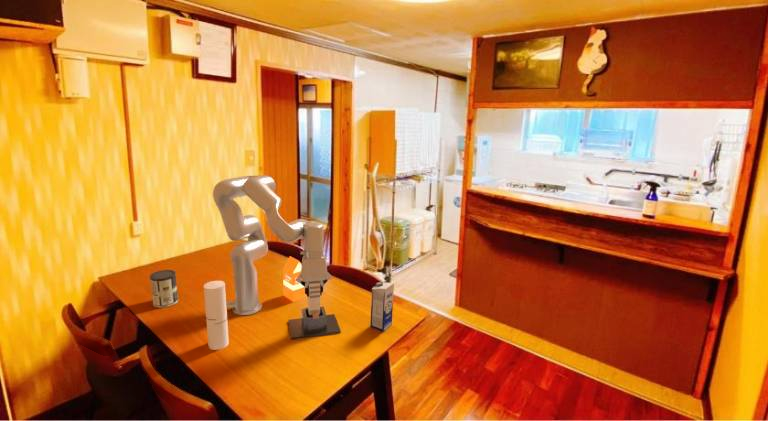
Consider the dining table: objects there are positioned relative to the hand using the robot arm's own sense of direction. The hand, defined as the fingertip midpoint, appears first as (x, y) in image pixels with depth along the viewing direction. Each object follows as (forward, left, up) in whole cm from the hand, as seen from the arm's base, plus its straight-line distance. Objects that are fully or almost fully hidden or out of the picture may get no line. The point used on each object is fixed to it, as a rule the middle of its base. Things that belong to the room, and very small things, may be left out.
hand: (313, 294), depth 156 cm
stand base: (0, 0, -15) cm, 15 cm away
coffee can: (-63, +38, -16) cm, 75 cm away
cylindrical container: (-37, -3, -16) cm, 40 cm away
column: (0, 0, -8) cm, 8 cm away
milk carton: (+28, -6, -16) cm, 33 cm away
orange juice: (-5, +30, -16) cm, 34 cm away
